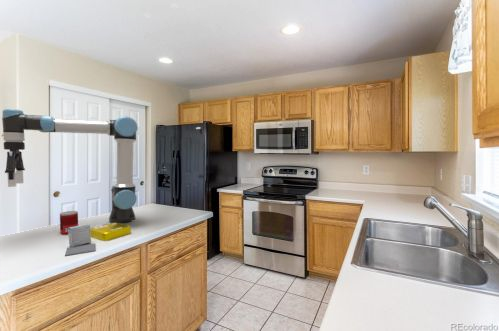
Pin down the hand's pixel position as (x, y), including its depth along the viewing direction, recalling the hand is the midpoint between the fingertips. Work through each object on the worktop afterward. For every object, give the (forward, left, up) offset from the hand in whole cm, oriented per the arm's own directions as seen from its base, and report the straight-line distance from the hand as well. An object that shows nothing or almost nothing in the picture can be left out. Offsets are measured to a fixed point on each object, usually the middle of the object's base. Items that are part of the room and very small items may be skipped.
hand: (16, 184), depth 124 cm
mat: (-27, +31, -27) cm, 50 cm away
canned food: (-21, -1, -28) cm, 35 cm away
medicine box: (-27, +24, -27) cm, 45 cm away
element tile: (-40, +14, -28) cm, 51 cm away
